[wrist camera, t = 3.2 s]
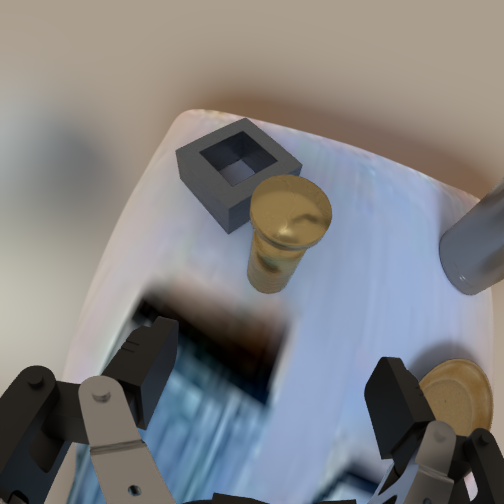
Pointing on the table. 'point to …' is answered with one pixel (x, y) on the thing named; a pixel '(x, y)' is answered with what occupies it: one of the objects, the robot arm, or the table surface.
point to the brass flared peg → (284, 228)
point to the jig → (223, 154)
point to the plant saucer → (459, 395)
